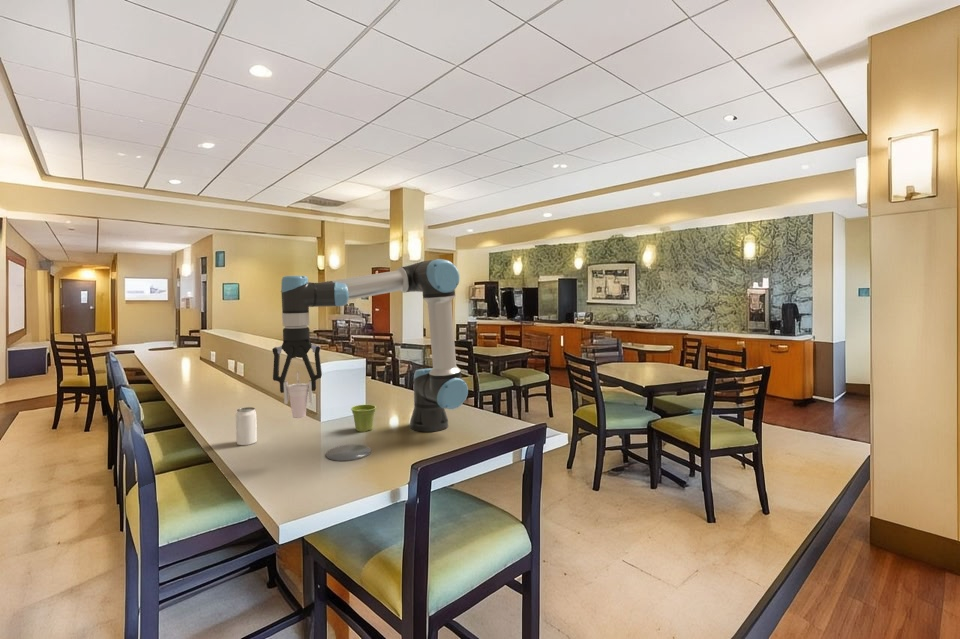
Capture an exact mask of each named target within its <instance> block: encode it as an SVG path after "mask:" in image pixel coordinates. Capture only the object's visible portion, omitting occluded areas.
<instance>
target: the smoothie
mask: <svg viewBox="0 0 960 639" xmlns="http://www.w3.org/2000/svg"><path fill="white" fill-rule="evenodd" d="M299 374H300V372H299V371H296V383H292V384H288V386H287V390H288V399H289V403H290V410H291V415H292V416H291V417H292V418H293V419H303V418H305V417H306V416H307V406H308V397H309V383H306V382H305V383H303V382H302V383H301V382H300V375H299Z"/></svg>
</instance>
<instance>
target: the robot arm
mask: <svg viewBox="0 0 960 639" xmlns="http://www.w3.org/2000/svg"><path fill="white" fill-rule="evenodd" d="M460 279H461V278H460V272H459V270H458V268H457V266H456V265H455V264H454V263H453V262H451V260H448V259H443V258H437V259H431V260H422V261H419V262H416V263H413V264H409V265H405V266H400V267H398V268H396V270H392V271H386V272H380V273H379V272H378V273H373V274H365V275H361V276H360V275H359V276H353V277H347V278H342V279H335V280H328V281H323V282H322V281H321V282H311V281H310V282H309V278H308V276H307V275H285V276H283V277H282V278H281V291H280V293H281V309H282V312H281V317H282V318H281V319H282V326H283V327H284V328H283V329H282V344H281V345H280V346H275V347H273V348H272V350H271V351H272V355H273V370H272V371H273V372H272V380H273V381H274V382H275V381H276V382H278V383H279V392H280V393H281V394H282V393H283V400H284V402H283V404H284V405H288V403H289V392H288V390H287V386H288V385H289V384H288V383H289V382H288V380H286V378H287V374H288V372H289V368H290V366H291V365H290V364H291V362H292V360H293V359H296V358H298V359H302V361H303V363H304V366H305V368H306V370H307V373H308V375H309V378H310V379H309V380H308V384H309V388H308V401H309V402H308V403H313V401H314V397H313V392H315V391H316V389H317V380H319V379H321V378H322V376H323V373H322V366H321V364H322V363H321V356H320V352H321V348H322V347H321V346H320V345H314V344H312V342H311V340H310V339H311V336H310V335H311V333H310V330H311V329H310V328H309V327H308V326H310V312H309V311H310V309H309V308H313V307H315V308H316V307H319V308H320V307H321V308H323V307H325V308H326V307H327V308H328V307H336V308H337V307H345V306H347V304H348V303H349V301H351V300H356V299H362V298H367V297H368V298H369V297H372V296H373V297H374V296H379V295H383V294H389V293H396V292H399V291H400V292H401V293H404V294H405V293H410V292H417V293H422V299H423V300H424V301H425V302H427V310H428V323H429V335H430V347H431V348H430V349H431V359H432V360H431V361H432V368H431V367H429V368H420V369H416V370H415V371H414V373H413V401H414V402H413V405H414V406H413V411H412V414H411V418H410V420H409V428H410V429H412V430H413V431H416V432H423V433H424V432H426V433H429V432H431V433H432V432H439V431H443V430H445V429H448V427H449V418H448V415H447V412H446V410H455V409H458V408H459V407H461V406H462V405H463V403H464V402H465V401H466V400H467V397H468V394H469V388H468V384H467V383H466V382H465V380H464V379H462V370H461V368H460V367H458V366H457V360H456V359H457V358H456V356H457V355H456V347H455V346H456V343H455V331H454V320H453V319H454V318H453V306H452V305H453V303H452V302H453V301H452V300H453V299H454V298H456V289H457V287H458V285H459V283H460ZM311 349H312V352H313V353H314V362H315V369H316V374H315V372H314V369H313V366H312V363H311V361H310V358H309V355H308V353H309V352H310V350H311ZM282 350H283V352H284V353H285V354H286V355H287V356H286V359H285V362H284V365H283V369H282V372H281V374H280V359H281V358H280V357H281V356H280V355H281V354H282Z"/></svg>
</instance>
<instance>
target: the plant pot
mask: <svg viewBox="0 0 960 639" xmlns="http://www.w3.org/2000/svg"><path fill="white" fill-rule="evenodd" d="M376 409H377V406H376V405H374V404H358V405H354V406H352V407H351V408H350V410H351V411H352V414H353V420H354V426H355V430H356V431H358V432H360V433H363V432H367V431H372V429H373V425H374V424H373V423H374V416H375V412H376Z"/></svg>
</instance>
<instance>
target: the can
mask: <svg viewBox="0 0 960 639" xmlns="http://www.w3.org/2000/svg"><path fill="white" fill-rule="evenodd" d="M255 409H256V408H255V407H251V406H249V407H240V408H238V409H236V414H235V432H236V433H235V434H236V444H237V446H251V445H254V444H255V443H257V441H258V429H257V428H258V427H257V423H258V422H257V412H256V410H255Z"/></svg>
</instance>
